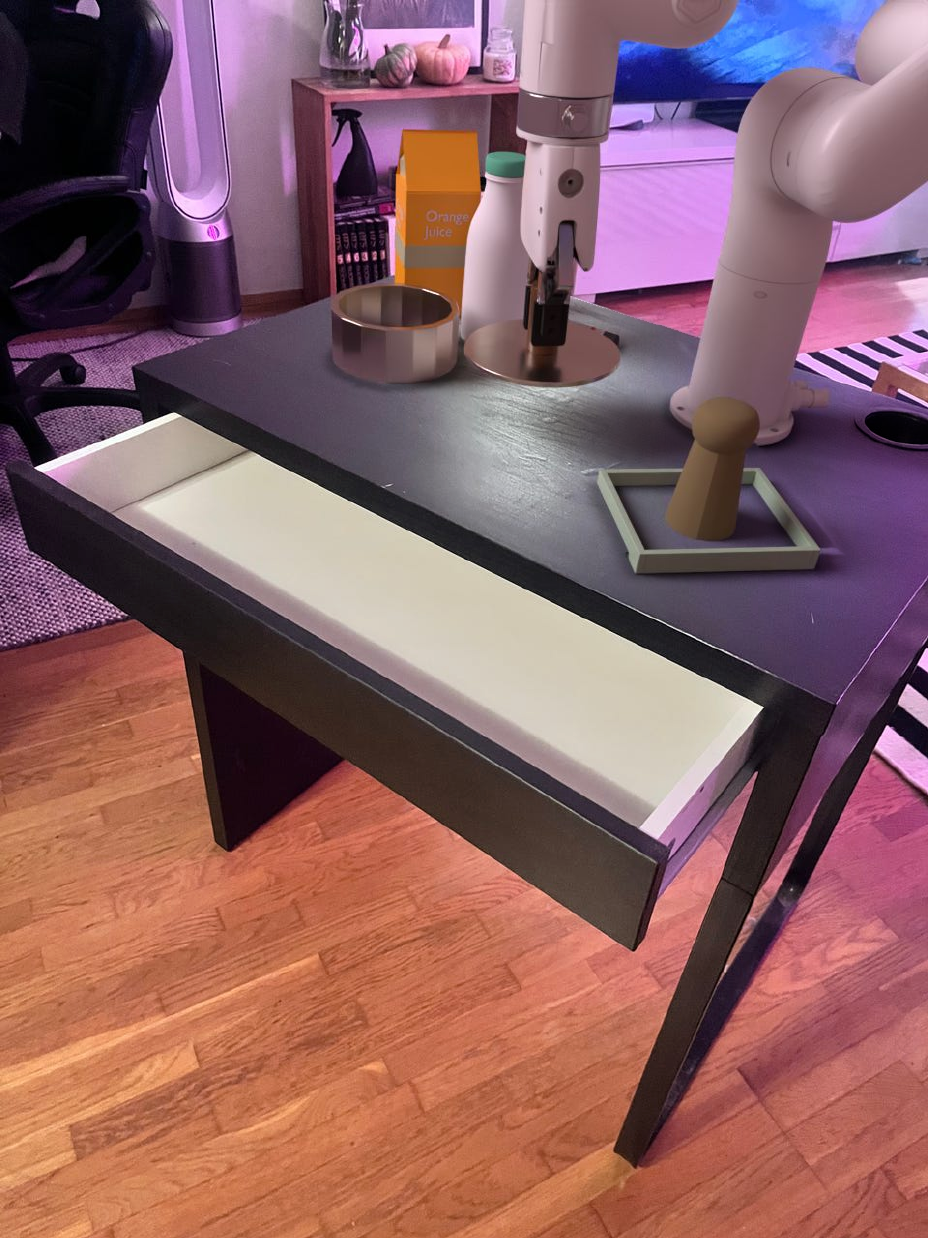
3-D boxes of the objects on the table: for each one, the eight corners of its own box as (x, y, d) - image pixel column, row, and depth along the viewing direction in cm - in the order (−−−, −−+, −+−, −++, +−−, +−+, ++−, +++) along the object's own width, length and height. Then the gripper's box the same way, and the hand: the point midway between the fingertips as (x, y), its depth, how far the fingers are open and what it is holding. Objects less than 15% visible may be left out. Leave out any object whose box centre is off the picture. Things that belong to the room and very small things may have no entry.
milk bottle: (520, 357, 105) (539, 167, 92) (454, 348, 106) (464, 159, 93) (529, 333, 111) (549, 151, 98) (467, 324, 112) (478, 143, 99)
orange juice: (473, 316, 114) (485, 138, 101) (403, 318, 112) (406, 136, 99) (460, 294, 120) (470, 123, 107) (393, 295, 118) (395, 121, 105)
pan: (448, 337, 108) (451, 283, 104) (462, 388, 98) (466, 330, 94) (331, 336, 106) (330, 281, 102) (333, 387, 96) (332, 328, 92)
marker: (618, 348, 109) (620, 332, 107) (610, 353, 107) (612, 337, 106) (510, 314, 115) (512, 298, 114) (502, 318, 114) (503, 302, 113)
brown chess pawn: (682, 496, 82) (711, 381, 75) (746, 520, 79) (781, 403, 73) (652, 524, 78) (679, 405, 71) (717, 551, 76) (752, 430, 69)
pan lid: (597, 328, 93) (607, 257, 89) (637, 392, 82) (650, 314, 78) (454, 330, 92) (457, 257, 87) (474, 396, 80) (478, 316, 76)
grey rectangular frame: (754, 485, 85) (760, 467, 84) (814, 569, 75) (821, 550, 74) (596, 487, 83) (599, 469, 82) (635, 573, 73) (639, 554, 72)
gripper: (636, 139, 68) (603, 373, 80) (586, 96, 81) (564, 303, 92) (537, 138, 67) (518, 375, 79) (502, 95, 80) (490, 304, 91)
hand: (543, 334), depth 85 cm, fingers closed on pan lid, 3 cm apart
